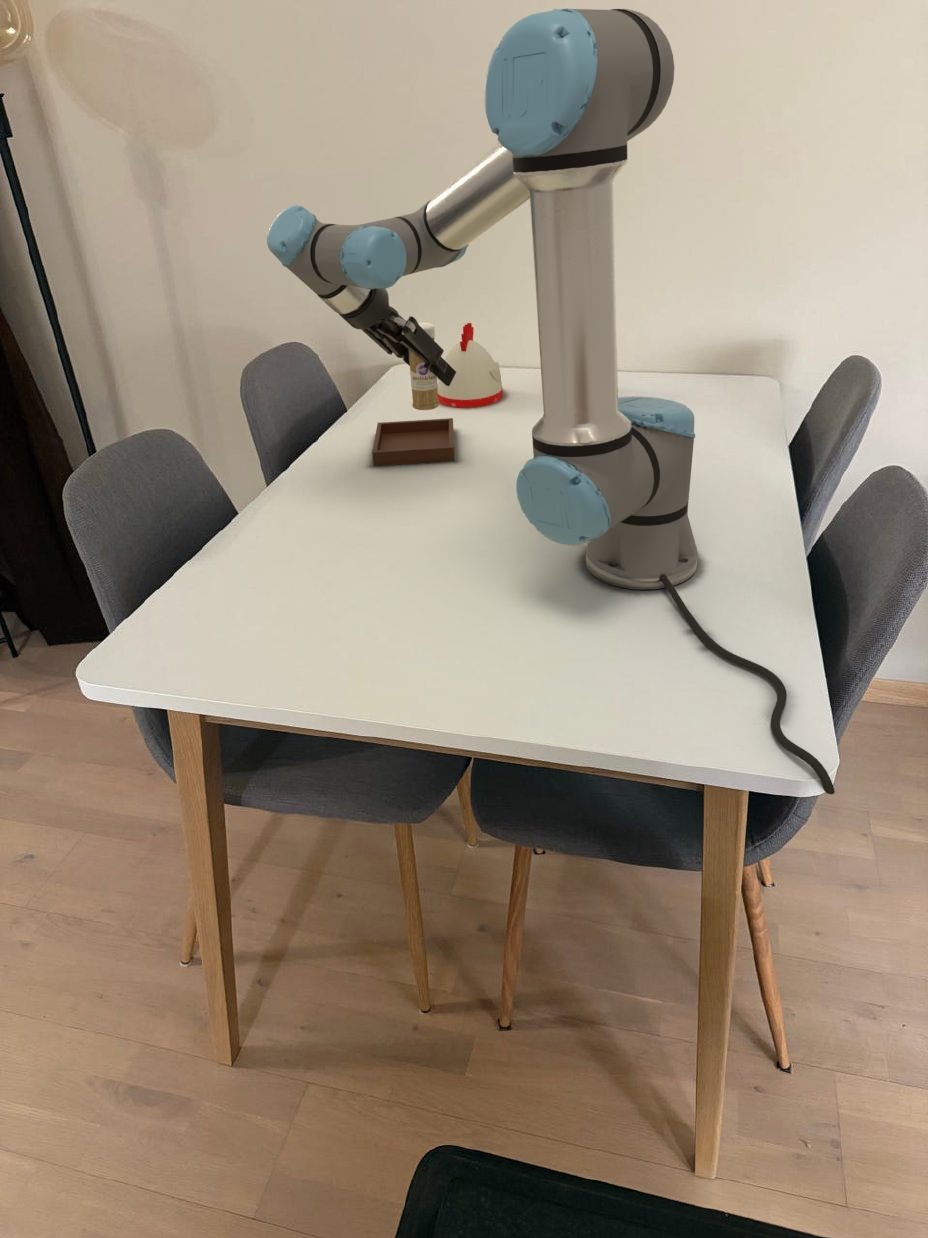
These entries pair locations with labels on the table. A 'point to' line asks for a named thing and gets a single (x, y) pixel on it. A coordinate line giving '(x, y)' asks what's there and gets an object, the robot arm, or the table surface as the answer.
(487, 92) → the robot arm
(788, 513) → the table surface
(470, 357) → the kitchen timer
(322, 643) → the table surface
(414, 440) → the wooden tray
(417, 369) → the sprinkles bottle
